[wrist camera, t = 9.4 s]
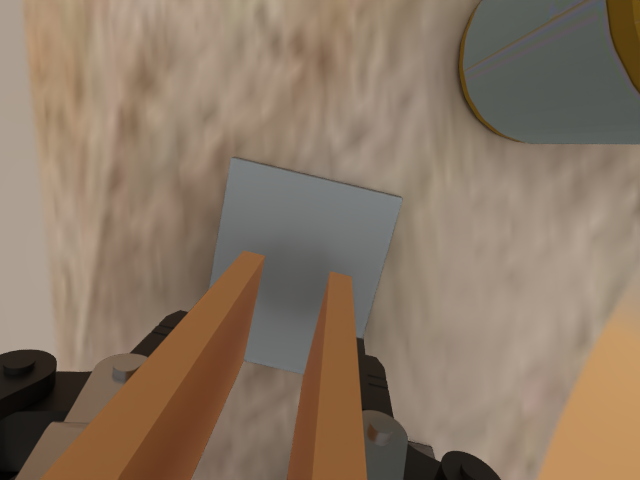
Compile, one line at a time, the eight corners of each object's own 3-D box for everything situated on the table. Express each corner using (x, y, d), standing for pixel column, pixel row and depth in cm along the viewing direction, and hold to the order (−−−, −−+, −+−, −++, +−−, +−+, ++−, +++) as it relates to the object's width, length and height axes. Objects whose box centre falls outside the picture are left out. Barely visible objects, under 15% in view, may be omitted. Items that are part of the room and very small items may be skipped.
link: (351, 276, 14) (386, 716, 3) (323, 379, 15) (280, 960, 4) (243, 250, 14) (-77, 610, 3) (223, 355, 15) (-64, 881, 4)
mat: (348, 378, 21) (348, 385, 20) (202, 343, 20) (198, 349, 20) (400, 196, 18) (402, 198, 17) (234, 156, 18) (231, 157, 17)
